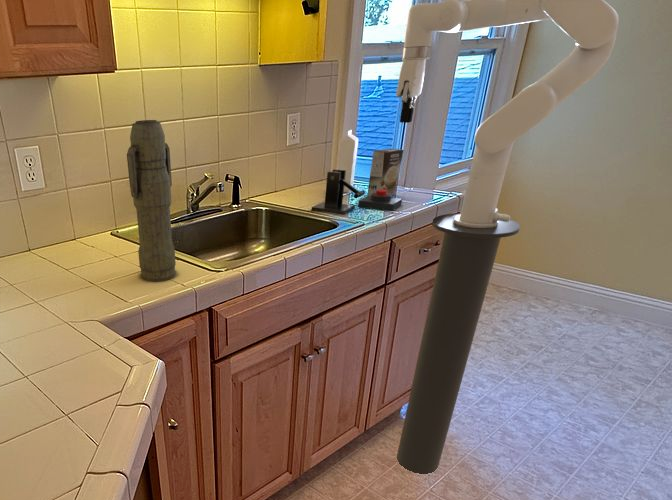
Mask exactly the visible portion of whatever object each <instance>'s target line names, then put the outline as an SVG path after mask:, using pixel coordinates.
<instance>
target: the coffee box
mask: <svg viewBox="0 0 672 500" xmlns="http://www.w3.org/2000/svg"><path fill="white" fill-rule="evenodd" d="M403 157H404V149H400V148H383V149H376V150H373V152H372V158H371V166H370V172H369V180H368V186H367V187H368V188H367V194H366V197H367V196H371V194H372V193H376V190H379V189H384V190H387V193H389V194H391V197H393V196H397V193H398V192H397V191H398V187H399V186H398V185H399V179H400V174H401V167H402V163H403Z"/></svg>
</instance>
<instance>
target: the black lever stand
mask: <svg viewBox="0 0 672 500" xmlns="http://www.w3.org/2000/svg"><path fill="white" fill-rule="evenodd" d="M334 171H338V172H334ZM326 174H327V175H326V183H325V193H324V194H325V196H324V201H322V202H319V203H317V204H315V205H313V206H311V211H313V212H322V213H329V214H336V215H346V214H348V213H349V212H352V211H353V210H355V209H356V205H355V204H346V203H343V202H344V193H345V192H344V185H343V184H342V183H341V182H340V178H342V179H343V180H345V175H346V170H336V169H335V168H334V169H332V171H331V170H328V171H327V173H326ZM341 175H343V176H342V177H341Z"/></svg>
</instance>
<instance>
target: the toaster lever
mask: <svg viewBox="0 0 672 500" xmlns="http://www.w3.org/2000/svg"><path fill="white" fill-rule="evenodd" d="M334 172H338V171H334ZM342 176H343V175H341V177H342ZM340 182H341V183H342V184H343V185H344V186H346V187H347V188H348V189H350V190H351V192H352V193H354V194H353V198H354V199H358V198H360V197H361V196H363V195H365V194H366V191H365V190H361V191H359V190H358V189H357V188H355V187H354V185H353V186H351V185H350V184H349V183H347V182H346V181H345V180H343V179H342V178H340Z"/></svg>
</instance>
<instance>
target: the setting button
mask: <svg viewBox="0 0 672 500" xmlns="http://www.w3.org/2000/svg"><path fill="white" fill-rule="evenodd" d="M376 195H377V196H386V195H387V190H384V189H379V190H376Z"/></svg>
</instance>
